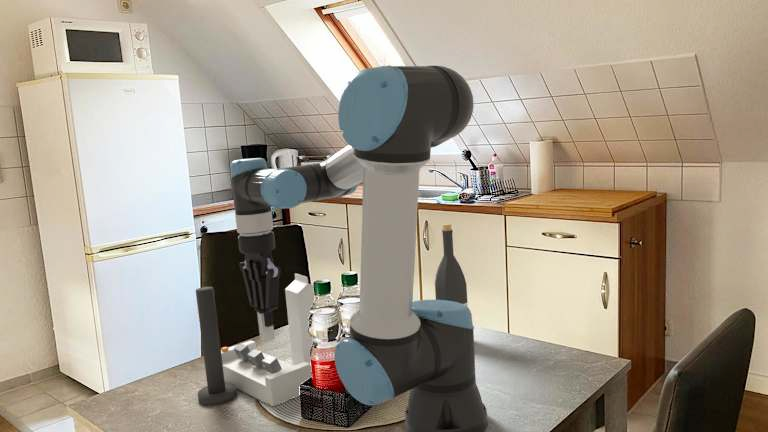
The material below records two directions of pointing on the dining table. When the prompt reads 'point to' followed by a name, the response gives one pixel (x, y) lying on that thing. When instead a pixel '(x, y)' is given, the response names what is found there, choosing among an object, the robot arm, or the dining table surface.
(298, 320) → the milk
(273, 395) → the strip
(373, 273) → the robot arm
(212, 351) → the post
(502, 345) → the dining table surface
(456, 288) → the wine bottle
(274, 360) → the paddle bank
